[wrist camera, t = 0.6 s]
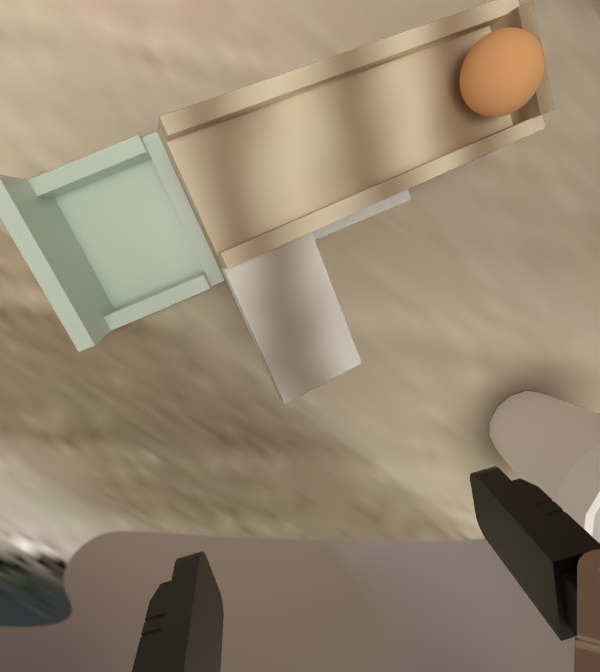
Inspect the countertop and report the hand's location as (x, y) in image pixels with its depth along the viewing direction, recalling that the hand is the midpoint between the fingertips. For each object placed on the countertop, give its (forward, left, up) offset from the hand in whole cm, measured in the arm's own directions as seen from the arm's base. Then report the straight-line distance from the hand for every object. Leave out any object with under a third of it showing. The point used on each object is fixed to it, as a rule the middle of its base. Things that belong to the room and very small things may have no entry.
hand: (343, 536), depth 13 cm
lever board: (-8, -7, -17) cm, 20 cm away
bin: (+6, -11, -23) cm, 26 cm away
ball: (-16, -11, -13) cm, 24 cm away
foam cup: (-17, +16, -23) cm, 32 cm away
